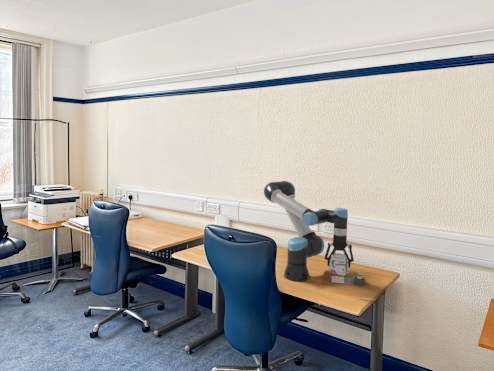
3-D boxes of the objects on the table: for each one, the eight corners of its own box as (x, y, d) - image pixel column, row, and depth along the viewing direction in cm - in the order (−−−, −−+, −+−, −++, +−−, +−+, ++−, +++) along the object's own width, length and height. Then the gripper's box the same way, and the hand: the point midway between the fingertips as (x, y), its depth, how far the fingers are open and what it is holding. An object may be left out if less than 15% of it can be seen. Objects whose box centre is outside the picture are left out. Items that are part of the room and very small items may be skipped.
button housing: (354, 284, 217) (354, 279, 217) (353, 280, 223) (353, 275, 223) (365, 285, 216) (365, 280, 216) (364, 281, 222) (364, 276, 221)
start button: (355, 283, 218) (356, 273, 217) (355, 280, 222) (355, 271, 221) (363, 284, 217) (364, 274, 216) (362, 281, 221) (363, 272, 220)
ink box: (330, 273, 223) (330, 254, 222) (332, 271, 228) (333, 251, 226) (344, 276, 219) (345, 256, 218) (346, 273, 224) (347, 254, 222)
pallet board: (331, 284, 220) (331, 282, 220) (330, 277, 230) (330, 275, 230) (365, 287, 216) (365, 285, 216) (363, 280, 227) (363, 278, 227)
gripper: (320, 235, 219) (319, 272, 222) (360, 237, 215) (358, 275, 218) (320, 232, 227) (319, 268, 229) (358, 234, 223) (357, 271, 225)
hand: (338, 271), depth 224 cm, fingers closed on ink box, 9 cm apart
